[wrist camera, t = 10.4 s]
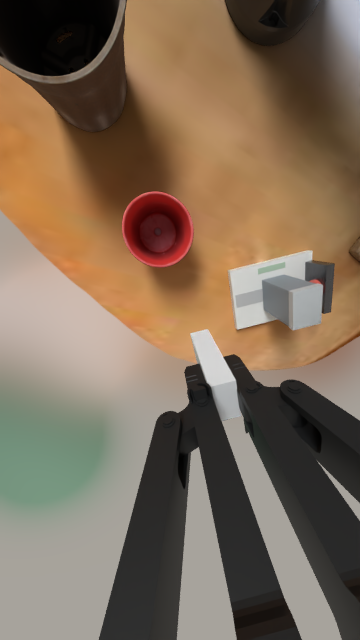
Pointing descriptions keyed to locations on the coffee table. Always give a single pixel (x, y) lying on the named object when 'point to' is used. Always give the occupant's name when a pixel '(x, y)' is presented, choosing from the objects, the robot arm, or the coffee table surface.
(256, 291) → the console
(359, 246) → the candle holder
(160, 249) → the flower pot
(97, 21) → the plant pot
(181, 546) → the robot arm
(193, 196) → the coffee table surface
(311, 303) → the grey rectangular block
